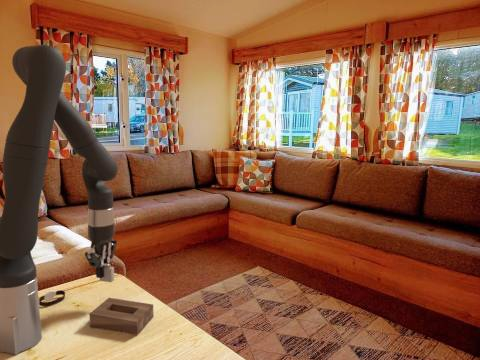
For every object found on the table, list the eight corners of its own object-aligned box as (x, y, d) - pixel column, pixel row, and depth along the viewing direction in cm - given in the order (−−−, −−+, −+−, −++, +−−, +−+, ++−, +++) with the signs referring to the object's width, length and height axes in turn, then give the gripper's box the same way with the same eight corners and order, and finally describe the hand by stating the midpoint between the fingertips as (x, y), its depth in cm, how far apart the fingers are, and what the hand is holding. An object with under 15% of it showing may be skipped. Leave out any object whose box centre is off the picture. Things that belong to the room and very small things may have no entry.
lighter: (114, 280, 110) (114, 255, 109) (111, 282, 108) (110, 257, 107) (94, 277, 111) (93, 252, 110) (90, 279, 110) (90, 254, 108)
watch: (61, 295, 116) (60, 284, 115) (68, 300, 113) (67, 289, 112) (36, 304, 110) (35, 293, 109) (43, 309, 107) (42, 298, 106)
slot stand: (137, 335, 95) (137, 321, 94) (90, 326, 98) (89, 313, 98) (153, 316, 104) (153, 304, 103) (109, 309, 107) (108, 297, 107)
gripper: (103, 215, 114) (104, 266, 117) (75, 226, 101) (77, 283, 104) (124, 217, 113) (125, 268, 115) (98, 229, 99) (99, 287, 102)
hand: (102, 275), depth 110 cm, fingers closed on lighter, 2 cm apart
